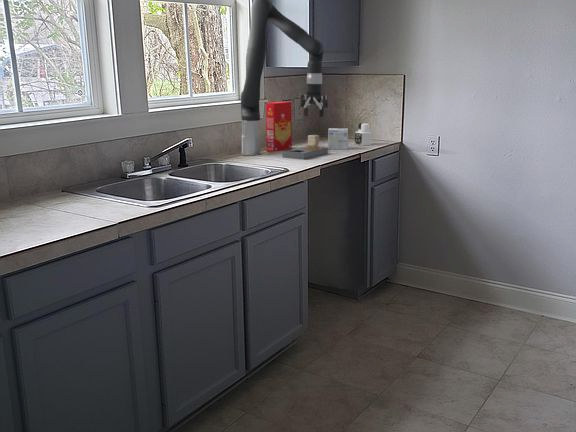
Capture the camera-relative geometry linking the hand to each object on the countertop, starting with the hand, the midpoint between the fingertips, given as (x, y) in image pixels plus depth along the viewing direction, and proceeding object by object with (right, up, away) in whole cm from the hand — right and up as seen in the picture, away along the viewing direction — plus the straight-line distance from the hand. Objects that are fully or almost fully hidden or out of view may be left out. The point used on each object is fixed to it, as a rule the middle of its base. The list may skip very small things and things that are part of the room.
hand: (313, 116), depth 288 cm
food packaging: (-17, -14, +22) cm, 31 cm away
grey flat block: (-4, -20, 0) cm, 20 cm away
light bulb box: (+14, -13, +27) cm, 33 cm away
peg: (0, -18, +5) cm, 18 cm away
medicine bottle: (+30, -9, +42) cm, 52 cm away
